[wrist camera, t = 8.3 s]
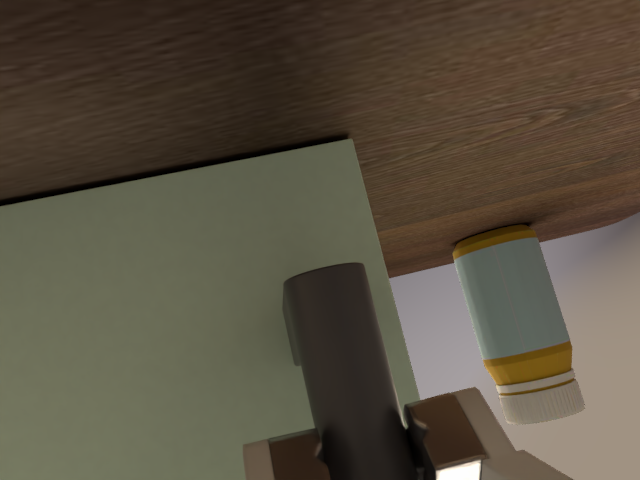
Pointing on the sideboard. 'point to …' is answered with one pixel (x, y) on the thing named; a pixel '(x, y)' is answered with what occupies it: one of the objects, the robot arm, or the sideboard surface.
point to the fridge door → (201, 325)
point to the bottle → (518, 324)
